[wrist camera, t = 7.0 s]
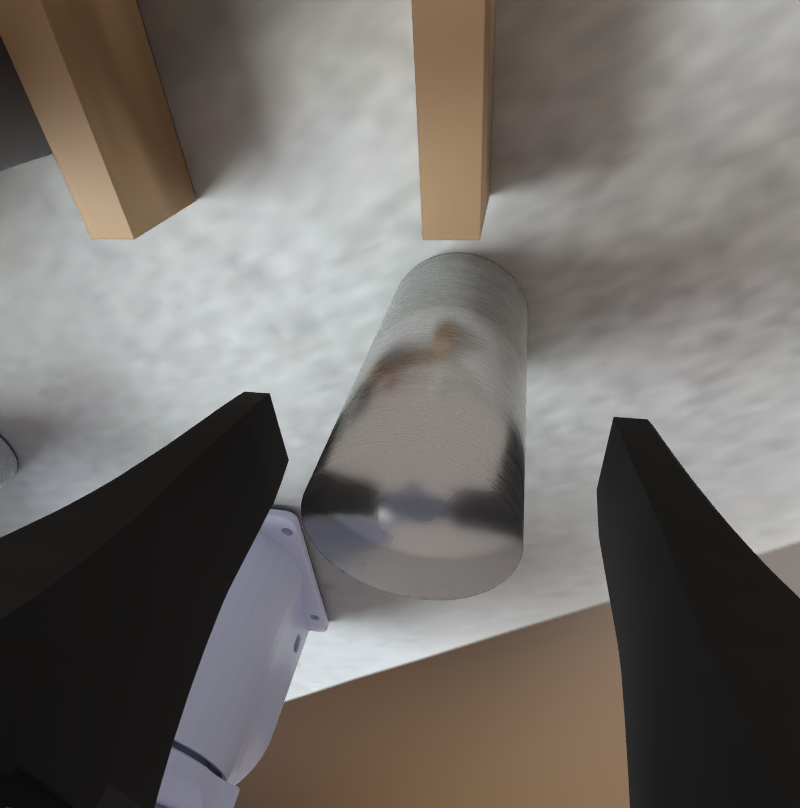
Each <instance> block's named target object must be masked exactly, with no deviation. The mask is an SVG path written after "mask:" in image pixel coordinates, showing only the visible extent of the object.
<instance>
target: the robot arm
mask: <svg viewBox="0 0 800 808" xmlns="http://www.w3.org/2000/svg"><path fill="white" fill-rule="evenodd" d="M287 464H288V456H287V453H286V449H285V446H284V442H283V439H282V435H281V432H280V428H279V425H278V421H277V418H276V414H275V411H274V407H273V404H272V400H271V397H270V393H255V392H243V393H242V394H240V395H239V396H237V397H235V398H234V399H232V400H231V401H229V402H228V403H226V404H225V405H223V406H222V407H221V408H219V409H218V410H216V411H215V412H213V413H212V414H211V415H209V416H208V417H206V418H205V419H204V420H202V421H201V422H199V423H198V424H197V425H195V426H194V427H192V428H191V429H189V430H188V431H187V432H185V433H184V434H182V435H181V436H179V437H178V438H177V439H175V440H174V441H172V442H171V443H169V444H168V445H167V446H165V447H164V448H162V449H161V450H159V451H158V452H156V453H154V454H153V455H151V456H150V457H148V458H147V459H145V460H144V461H142V462H141V463H139V464H137V465H136V466H134V467H133V468H131V469H130V470H128V471H127V472H125V473H124V474H122V475H120V476H119V477H117V478H115V479H114V480H112V481H110V482H109V483H107V484H105V485H104V486H102V487H100V488H98V489H97V490H95V491H93V492H91V493H90V494H88V495H86V496H84V497H82V498H80V499H79V500H77V501H75V502H73V503H71V504H69V505H68V506H66V507H64V508H62V509H60V510H58V511H56V512H54V513H52V514H50V515H47V516H45V517H43V518H41V519H39V520H37V521H35V522H33V523H31V524H29V525H27V526H24V527H22V528H20V529H18V530H16V531H14V532H12V533H10V534H8V535H6V536H3V537H1V538H0V808H233V807H234V804H235V801H236V798H237V796H238V793H239V788H238V787H236V786H235V785H236V784H237V783H238V782H240V781H241V780H242V779H243V778H244V777H245V776H246V775H247V774H248V773H249V772H250V771H251V770H252V769H253V768H254V767H255V765H256V764H257V763H258V761H259V760H260V759H261V757H262V755H263V754H264V752H265V750H266V748H267V747H268V744H269V742H270V740H271V737H272V734H273V732H274V729H275V726H276V723H277V720H278V717H279V714H280V712H281V709H282V706H283V703H284V700H285V697H286V695H287V692H288V689H289V686H290V683H291V680H292V677H293V675H294V672H295V669H296V666H297V663H298V660H299V658H300V655H301V652H302V649H303V646H304V643H305V640H306V638H307V635H308V632H309V630H310V631H316V632H325V631H326V630H327V628H328V625H329V622H328V619H327V615H326V612H325V609H324V605H323V602H322V598H321V595H320V592H319V588H318V585H317V581H316V578H315V575H314V571H313V568H312V565H311V561H310V558H309V554H308V551H307V548H306V544H305V541H304V537H303V534H302V531H301V527H300V524H299V520H298V518H297V516H296V515H294V514H293V513H291V512H289V511H284V510H275V509H271V507H272V505H273V503H274V500H275V498H276V495H277V493H278V490H279V487H280V485H281V482H282V479H283V476H284V473H285V470H286V467H287ZM597 508H598V527H599V539H600V545H601V551H602V557H603V563H604V569H605V574H606V580H607V586H608V591H609V597H610V602H611V608H612V614H613V619H614V625H615V631H616V636H617V642H618V649H619V657H620V664H621V673H622V687H623V701H624V714H625V728H626V743H627V760H628V776H629V795H630V808H800V598H799V597H798V596H797V595H796V594H795V593H794V592H793V591H792V590H791V589H790V588H789V587H788V586H787V585H785V584H784V583H783V582H782V581H781V580H780V579H779V578H778V577H777V576H776V575H775V574H774V573H773V572H772V571H771V570H770V569H769V568H768V567H767V566H766V565H765V564H764V563H763V562H762V561H761V559H760V558H759V557H758V556H757V555H756V554H755V553H754V552H753V551H752V550H751V549H750V548H749V546H748V545H747V544H746V543H745V542H744V541H743V540H742V539H741V538H740V536H739V535H738V534H737V533H736V532H735V531H734V530H733V529H732V528H731V526H730V525H729V524H728V523H727V522H726V520H725V519H724V518H723V517H722V516H721V515H720V513H719V512H718V511H717V510H716V509H715V507H714V506H713V505H712V504H711V502H710V501H709V500H708V499H707V497H706V496H705V495H704V494H703V493H702V491H701V490H700V489H699V488H698V486H697V485H696V484H695V483H694V481H693V480H692V479H691V477H690V476H689V475H688V473H687V472H686V471H685V469H684V468H683V467H682V465H681V464H680V463H679V461H678V460H677V459H676V457H675V456H674V455H673V453H672V452H671V450H670V449H669V448H668V446H667V445H666V443H665V442H664V441H663V439H662V438H661V436H660V435H659V434H658V432H657V431H656V429H655V428H654V426H653V425H652V424H651V423H650V422H649V420H648V419H635V418H620V417H614V418H613V422H612V426H611V431H610V435H609V439H608V444H607V448H606V452H605V456H604V461H603V465H602V469H601V474H600V478H599V482H598V487H597Z"/></svg>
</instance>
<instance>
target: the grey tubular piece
mask: <svg viewBox="0 0 800 808" xmlns="http://www.w3.org/2000/svg"><path fill="white" fill-rule="evenodd" d="M16 471H17V460H16V457H15V455H14V453H13V452H12V450H11V449H10V447H9V446H8V445H7V444H6V442H5V441H4V440H3V439H2V438H1V437H0V488H2V487H3V486H4V485H5V484H6V483H7V482H8V481H9V480H10V479H11V478H12V477H13V475H14V474H15V473H16Z"/></svg>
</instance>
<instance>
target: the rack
mask: <svg viewBox="0 0 800 808" xmlns="http://www.w3.org/2000/svg"><path fill="white" fill-rule="evenodd" d="M495 2H496V0H412V19H413V41H414V62H415V84H416V105H417V126H418V148H419V169H420V191H421V212H422V234H423V240H480V237H481V232H482V228H483V223H484V219H485V214H486V209H487V205H488V200H489V192H490V160H491V129H492V97H493V65H494V33H495ZM0 35H1V37H2V40H3V42H4V44H5V46H6V49H7V51H8V53H9V55H10V58H11V60H12V62H13V65H14V67H15V69H16V71H17V74H18V76H19V78H20V80H21V83H22V85H23V87H24V89H25V92H26V94H27V96H28V98H29V101H30V103H31V105H32V107H33V110H34V112H35V114H36V116H37V119H38V121H39V123H40V125H41V128H42V130H43V132H44V134H45V137H46V139H47V141H48V143H49V146H50V148H51V150H52V152H53V155H54V157H55V159H56V161H57V164H58V166H59V168H60V170H61V173H62V175H63V177H64V179H65V182H66V184H67V186H68V188H69V191H70V193H71V195H72V197H73V200H74V202H75V204H76V206H77V209H78V211H79V213H80V215H81V218H82V220H83V222H84V225H85V227H86V229H87V231H88V234H89V236H90V238H91V239H136V238H137V237H139V236H141V235H142V234H144V233H145V232H147V231H148V230H150V229H152V228H153V227H155V226H156V225H158V224H160V223H161V222H163V221H164V220H166V219H168V218H169V217H171V216H172V215H174V214H176V213H177V212H179V211H180V210H182V209H184V208H185V207H187V206H188V205H190V204H192V203H193V202H195V201H196V197H195V194H194V190H193V187H192V184H191V180H190V177H189V174H188V170H187V167H186V164H185V161H184V157H183V154H182V151H181V147H180V144H179V141H178V137H177V134H176V131H175V128H174V124H173V121H172V118H171V114H170V111H169V108H168V105H167V101H166V98H165V95H164V91H163V88H162V85H161V81H160V78H159V75H158V72H157V68H156V65H155V62H154V58H153V55H152V52H151V48H150V45H149V42H148V39H147V35H146V32H145V29H144V25H143V22H142V19H141V15H140V12H139V9H138V6H137V2H136V0H0Z"/></svg>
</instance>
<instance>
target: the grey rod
mask: <svg viewBox="0 0 800 808" xmlns="http://www.w3.org/2000/svg"><path fill="white" fill-rule="evenodd" d="M527 323H528V311H527V304H526V301H525V297H524V295H523V293H522V290H521V288H520V287H519V285H518V284H517V282H516V281H515V280H514V278H513V277H512V276H511V275H510V274H509V273H508V272H507V271H506V270H504V269H503V268H502V267H501V266H499V265H497V264H496V263H494V262H492V261H490V260H488V259H486V258H483V257H480V256H477V255H472V254H466V253H449V254H443V255H438V256H435V257H432V258H430V259H427V260H425V261H423V262H422V263H420V264H418V265H417V266H415V267H414V268H413V269H412V270H411V271H410V272H408V274H407V275H406V276H405V277H404V278H403V280H402V281H401V283H400V284H399V286H398V288H397V291H396V293H395V295H394V297H393V299H392V301H391V304H390V306H389V308H388V310H387V312H386V315H385V317H384V319H383V321H382V323H381V326H380V328H379V330H378V332H377V334H376V337H375V339H374V341H373V343H372V345H371V347H370V350H369V352H368V354H367V356H366V358H365V361H364V363H363V365H362V367H361V369H360V372H359V374H358V376H357V378H356V380H355V383H354V385H353V387H352V389H351V391H350V394H349V396H348V398H347V400H346V402H345V404H344V407H343V409H342V411H341V413H340V415H339V418H338V420H337V422H336V424H335V426H334V429H333V431H332V433H331V435H330V437H329V440H328V442H327V444H326V446H325V448H324V450H323V453H322V455H321V457H320V459H319V461H318V464H317V466H316V468H315V470H314V472H313V475H312V477H311V479H310V481H309V483H308V486H307V488H306V490H305V492H304V495H303V498H302V503H301V516H302V521H303V525H304V527H305V530H306V532H307V534H308V536H309V538H310V540H311V541H312V543H313V544H314V545H315V547H316V548H317V549H318V550H319V551H320V553H321V554H322V555H323V556H324V557H325V558H326V559H327V560H329V561H330V562H331V563H332V564H333V565H334V566H336V567H337V568H339V569H340V570H341V571H343V572H344V573H346V574H348V575H349V576H351V577H353V578H354V579H356V580H358V581H360V582H362V583H364V584H367V585H369V586H371V587H374V588H376V589H379V590H382V591H385V592H388V593H392V594H396V595H400V596H405V597H410V598H417V599H426V600H449V599H459V598H465V597H469V596H474V595H477V594H480V593H483V592H486V591H488V590H490V589H492V588H494V587H496V586H497V585H499V584H500V583H502V582H503V581H505V580H506V579H507V578H508V577H509V576H510V575H511V574H512V573H513V571H514V570H515V569H516V567H517V566H518V564H519V561H520V559H521V556H522V552H523V528H524V477H525V426H526V374H527Z"/></svg>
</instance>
